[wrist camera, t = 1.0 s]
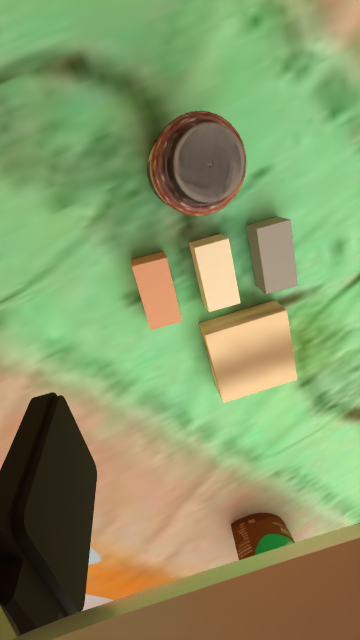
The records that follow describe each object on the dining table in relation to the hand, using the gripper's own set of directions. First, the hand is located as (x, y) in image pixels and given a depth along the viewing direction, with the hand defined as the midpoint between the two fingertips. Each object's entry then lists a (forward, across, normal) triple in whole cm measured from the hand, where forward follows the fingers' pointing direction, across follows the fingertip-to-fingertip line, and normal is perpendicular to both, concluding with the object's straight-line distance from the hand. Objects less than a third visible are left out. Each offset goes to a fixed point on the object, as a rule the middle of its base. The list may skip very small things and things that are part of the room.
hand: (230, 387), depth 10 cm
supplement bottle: (+23, -3, -6) cm, 24 cm away
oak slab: (+22, -6, +12) cm, 26 cm away
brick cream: (+23, -4, +3) cm, 23 cm away
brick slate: (+23, -10, +3) cm, 25 cm away
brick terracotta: (+23, +1, +4) cm, 23 cm away
